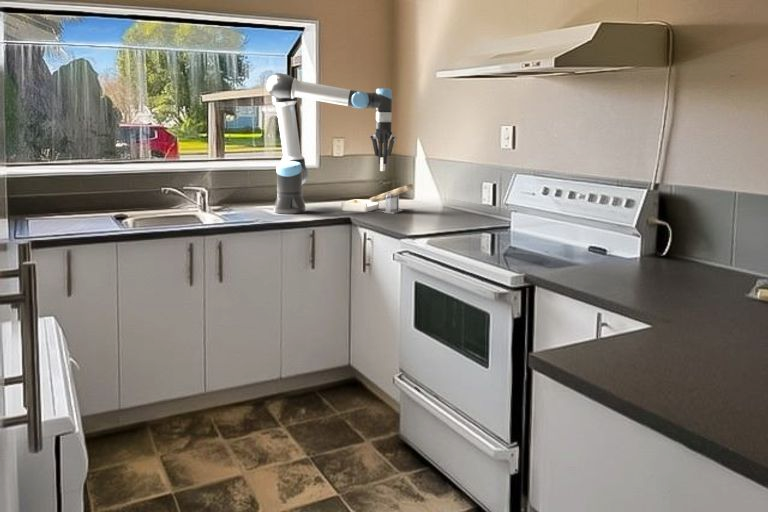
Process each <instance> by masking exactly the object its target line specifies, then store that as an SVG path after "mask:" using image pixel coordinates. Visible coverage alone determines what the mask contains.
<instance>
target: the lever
mask: <svg viewBox="0 0 768 512" xmlns="http://www.w3.org/2000/svg"><path fill="white" fill-rule="evenodd" d="M412 190H414V185H413V183H410V184H406V185H403V186H400V187H398V188H394V189H392V190H389V191H386V192H382V193H380V194H377V195H374V196H371V197H369V200H370V201H371V202H372V203H374V202H378V201H379V202H382V201H384V200H385V201H386V193H391V197H394V196H395V195H398V194H399V195H401V194H403V193H405V192H409V191H412Z"/></svg>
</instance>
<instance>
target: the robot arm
mask: <svg viewBox="0 0 768 512" xmlns="http://www.w3.org/2000/svg"><path fill="white" fill-rule="evenodd" d="M266 90H267V92H268V94H269V95H270V96H271V99H272V105H274V106H275V107H276V113H277V118H278V119H277V121H278V128H279V135H280V141H281V142H280V143H281V150H282V158H281V160H280V162H279V163H277V164H276V170H275V171H276V192H277V193H276V195H277V196H276V199H275V202H274V205H273V213H276V214H285V215H286V214H288V215H289V214H292V215H293V214H303V213H306V212H307V207H306V203H305V199H304V198H303V184H305V183H306V181H307V179H308V178H309V177H308V176H309V171H308V168H307V166H306V161H305V157H304V155H302V154H301V146H300V138H299V130H298V122H297V115H296V107H295V105H296V103H298V100H297V99H304V100H311V101H316V102H323V103H326V104H327V103H328V104H333V105H340V106H344V107H345V106H346V107H351V108H353V109H358V110H359V109H360V110H361V109H375V132H374V134H373V135H370V140H371V142H372V145H373V147H372V148H373V151H374V155H375V157H378V164H379V172H385V171H386V165H387V164H388V157H391V156H392V152H393V148H394V143H395V141H396V139H397V137H396V136H395V135H393V133H392V122H391V121H392V118H393V117H392V116H393V115H392V113H393V112H392V111H393V91H392V89H390V88H376V89H375V92H365V91H362V90H361V91H360V90H359V91H358V90H355V89H354V90H353V89H348V88H343V87H341V88H340V87H336V86H331V85H325V84H320V83H313V82H307V81H301V80H298V79H297V78H296V77H294V76H291V75H289V74H286V73H282V72H277V73H273V74H272V75H270V77H269V78H268V79H267V81H266Z"/></svg>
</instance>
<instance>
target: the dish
mask: <svg viewBox="0 0 768 512" xmlns="http://www.w3.org/2000/svg"><path fill="white" fill-rule="evenodd" d="M351 201H356V202H357V203H351ZM379 202H380V201H378V202H374V203H372V202H371V201H370V199H358V198H354V199H350V200H347V201H346V200H345V201H342V202H341V211H342V212H343V211H344V212H345V211H346V212H360V213H368V212H372V211H375V210H379V204H380V203H379Z"/></svg>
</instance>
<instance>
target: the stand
mask: <svg viewBox="0 0 768 512" xmlns="http://www.w3.org/2000/svg"><path fill="white" fill-rule="evenodd" d="M385 193H386V192H385ZM399 208H400V194H398V195H395V196H392V197H391V193H386V199H385V210H382V211H381V213H382V212H384V213H383V214H396V212H397V213H400V212H403V209H402V208H400V209H399Z"/></svg>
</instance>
